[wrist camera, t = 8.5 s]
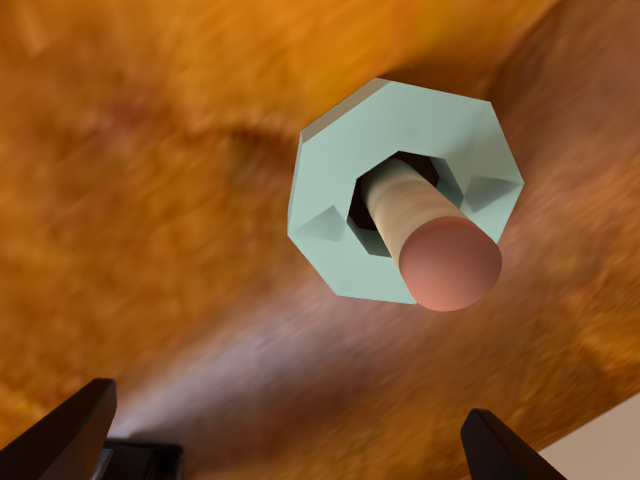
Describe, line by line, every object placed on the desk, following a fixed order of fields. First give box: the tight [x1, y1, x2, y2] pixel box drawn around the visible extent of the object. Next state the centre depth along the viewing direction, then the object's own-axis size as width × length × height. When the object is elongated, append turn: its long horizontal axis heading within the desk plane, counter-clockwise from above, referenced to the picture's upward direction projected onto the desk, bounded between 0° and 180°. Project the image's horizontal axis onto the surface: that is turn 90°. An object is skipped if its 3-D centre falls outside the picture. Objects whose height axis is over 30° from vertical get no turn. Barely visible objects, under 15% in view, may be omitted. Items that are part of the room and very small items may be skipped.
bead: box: [288, 77, 524, 304], centre depth 18 cm, size 10×10×3 cm
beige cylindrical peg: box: [360, 158, 502, 311], centre depth 15 cm, size 3×3×8 cm
